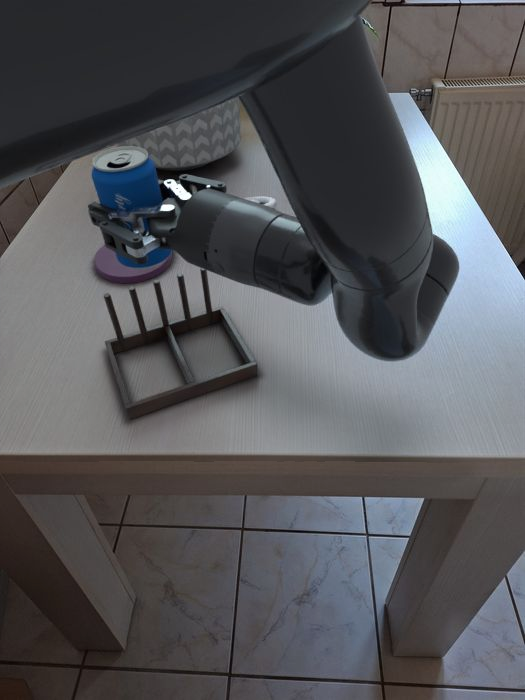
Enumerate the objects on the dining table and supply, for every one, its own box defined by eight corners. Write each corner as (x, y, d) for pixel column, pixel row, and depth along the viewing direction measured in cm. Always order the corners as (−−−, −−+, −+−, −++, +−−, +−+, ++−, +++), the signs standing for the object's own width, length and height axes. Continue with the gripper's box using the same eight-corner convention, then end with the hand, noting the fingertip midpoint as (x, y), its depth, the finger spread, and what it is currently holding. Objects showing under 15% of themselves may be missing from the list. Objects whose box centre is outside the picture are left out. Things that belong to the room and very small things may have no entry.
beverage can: (110, 273, 57) (77, 171, 48) (128, 242, 61) (100, 144, 53) (165, 274, 56) (141, 171, 47) (179, 243, 60) (159, 144, 52)
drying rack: (129, 419, 57) (109, 365, 50) (108, 351, 65) (89, 297, 58) (258, 375, 61) (255, 320, 54) (223, 316, 69) (217, 262, 62)
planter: (228, 190, 94) (217, 48, 78) (104, 184, 98) (67, 46, 81) (251, 137, 112) (246, 11, 95) (145, 133, 115) (121, 11, 98)
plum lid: (104, 291, 74) (101, 282, 72) (90, 250, 81) (87, 241, 80) (181, 270, 77) (180, 260, 75) (161, 232, 85) (159, 223, 83)
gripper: (277, 171, 49) (155, 140, 56) (179, 240, 41) (51, 193, 48) (280, 238, 54) (168, 201, 61) (193, 311, 46) (76, 258, 53)
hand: (117, 198), depth 55 cm, fingers closed on beverage can, 6 cm apart
